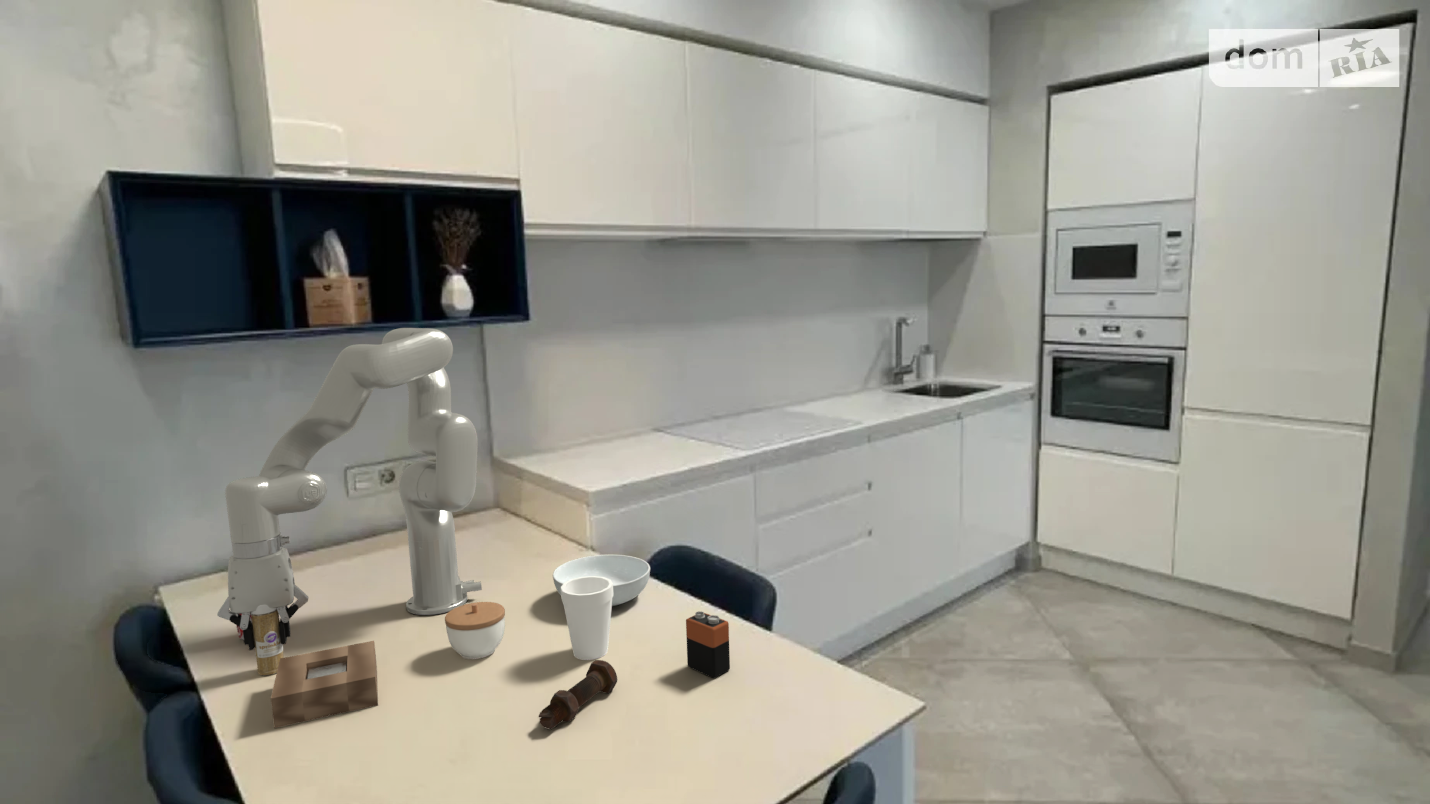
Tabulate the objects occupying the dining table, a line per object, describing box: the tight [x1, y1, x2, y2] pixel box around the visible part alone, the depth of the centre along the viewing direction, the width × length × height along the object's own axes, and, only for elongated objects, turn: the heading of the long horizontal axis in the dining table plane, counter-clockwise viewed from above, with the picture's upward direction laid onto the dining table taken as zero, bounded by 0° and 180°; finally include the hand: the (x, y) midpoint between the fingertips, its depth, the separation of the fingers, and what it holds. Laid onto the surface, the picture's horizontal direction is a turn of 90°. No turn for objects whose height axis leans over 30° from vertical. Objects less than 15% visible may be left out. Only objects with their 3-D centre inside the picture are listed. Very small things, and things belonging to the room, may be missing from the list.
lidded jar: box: [444, 601, 506, 660], centre depth 146 cm, size 11×11×9 cm
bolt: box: [538, 659, 618, 730], centre depth 125 cm, size 6×5×15 cm
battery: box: [685, 610, 731, 679], centre depth 137 cm, size 4×7×10 cm, turn 46°
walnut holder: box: [270, 640, 379, 729], centre depth 132 cm, size 15×15×5 cm
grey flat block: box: [307, 662, 347, 679], centre depth 132 cm, size 6×6×2 cm
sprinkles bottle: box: [250, 605, 285, 676], centre depth 141 cm, size 5×5×14 cm
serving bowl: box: [552, 554, 651, 607], centre depth 170 cm, size 21×21×7 cm
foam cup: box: [560, 576, 614, 661], centre depth 144 cm, size 10×9×13 cm
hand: (268, 643), depth 141 cm, fingers closed on sprinkles bottle, 4 cm apart
